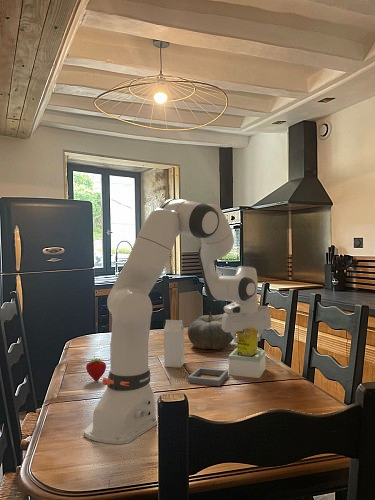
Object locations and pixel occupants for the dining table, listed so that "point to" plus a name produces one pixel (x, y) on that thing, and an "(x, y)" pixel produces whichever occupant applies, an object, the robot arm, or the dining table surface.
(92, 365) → the strawberry
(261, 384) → the dining table surface
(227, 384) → the dining table surface
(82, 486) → the dining table surface
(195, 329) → the gourd
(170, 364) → the milk carton
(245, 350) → the supplement box
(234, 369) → the white box and frame
